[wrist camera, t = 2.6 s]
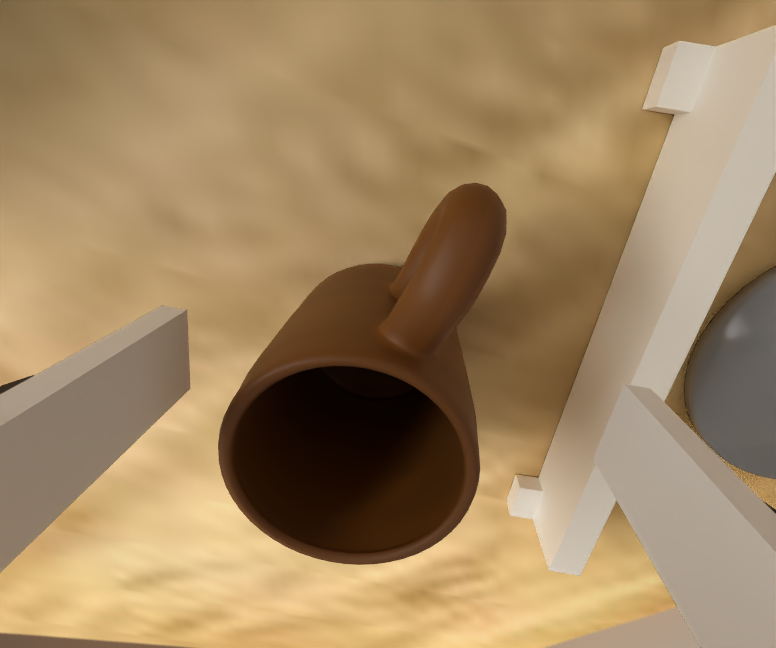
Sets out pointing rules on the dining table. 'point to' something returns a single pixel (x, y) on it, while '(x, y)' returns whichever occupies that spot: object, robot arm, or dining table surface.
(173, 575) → the dining table surface
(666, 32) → the dining table surface
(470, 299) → the mug
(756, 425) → the disc
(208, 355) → the dining table surface
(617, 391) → the rail
